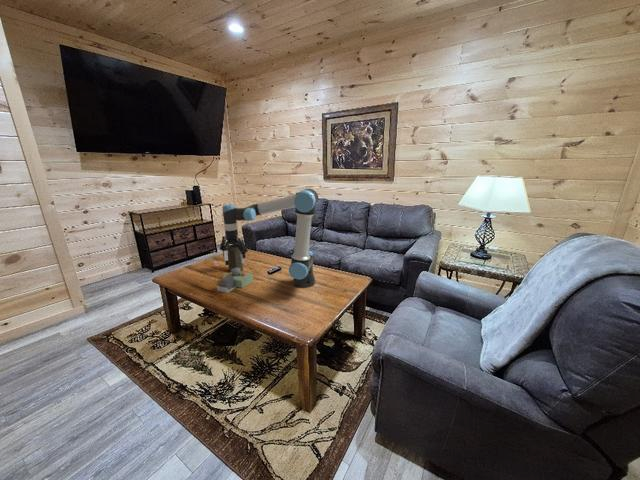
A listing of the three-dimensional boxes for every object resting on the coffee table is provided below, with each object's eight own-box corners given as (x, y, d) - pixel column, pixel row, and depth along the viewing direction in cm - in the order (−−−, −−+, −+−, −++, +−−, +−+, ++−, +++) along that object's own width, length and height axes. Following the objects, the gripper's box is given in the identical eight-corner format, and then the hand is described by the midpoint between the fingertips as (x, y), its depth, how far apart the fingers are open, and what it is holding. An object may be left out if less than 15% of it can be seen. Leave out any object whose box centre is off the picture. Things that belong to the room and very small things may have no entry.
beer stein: (246, 267, 207) (242, 243, 201) (241, 273, 196) (237, 247, 191) (227, 268, 208) (223, 244, 203) (221, 273, 198) (217, 248, 193)
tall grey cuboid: (234, 286, 174) (233, 276, 172) (227, 291, 168) (226, 281, 166) (228, 285, 176) (227, 275, 174) (220, 289, 170) (219, 279, 168)
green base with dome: (253, 280, 184) (252, 268, 181) (232, 294, 165) (230, 281, 162) (234, 277, 190) (233, 265, 187) (212, 289, 171) (210, 276, 168)
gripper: (251, 229, 163) (254, 261, 169) (219, 226, 172) (223, 257, 178) (243, 232, 156) (247, 265, 162) (211, 229, 165) (215, 261, 171)
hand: (234, 261), depth 170 cm, fingers open, 13 cm apart
